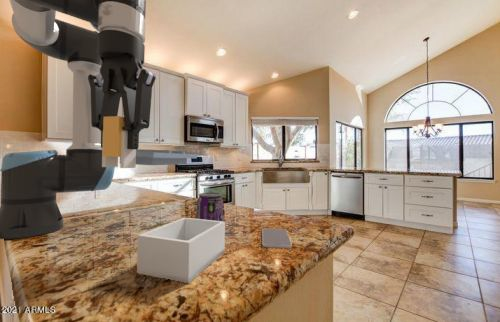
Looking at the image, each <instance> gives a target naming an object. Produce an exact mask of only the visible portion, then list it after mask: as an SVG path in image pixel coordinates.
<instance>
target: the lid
mask: <svg viewBox="0 0 500 322" xmlns="http://www.w3.org/2000/svg"><path fill="white" fill-rule="evenodd" d="M132 123H133V122H132ZM124 126H125V122H124V116H120V115H117V116H110V117H104V119H103V156H111V157H118V158H119V161H120V160H121V131H127V130H123V129H122V127H124ZM197 158H198V154H197V153H196V154H195V153H186V151H185V150H171V149H139V148H138V149H136V166H137V165H138V166H139V165H141V166H142V165H143V166H169V165H171V166H175V165H177V166H178V165H187V163H188V159H197Z"/></svg>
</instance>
